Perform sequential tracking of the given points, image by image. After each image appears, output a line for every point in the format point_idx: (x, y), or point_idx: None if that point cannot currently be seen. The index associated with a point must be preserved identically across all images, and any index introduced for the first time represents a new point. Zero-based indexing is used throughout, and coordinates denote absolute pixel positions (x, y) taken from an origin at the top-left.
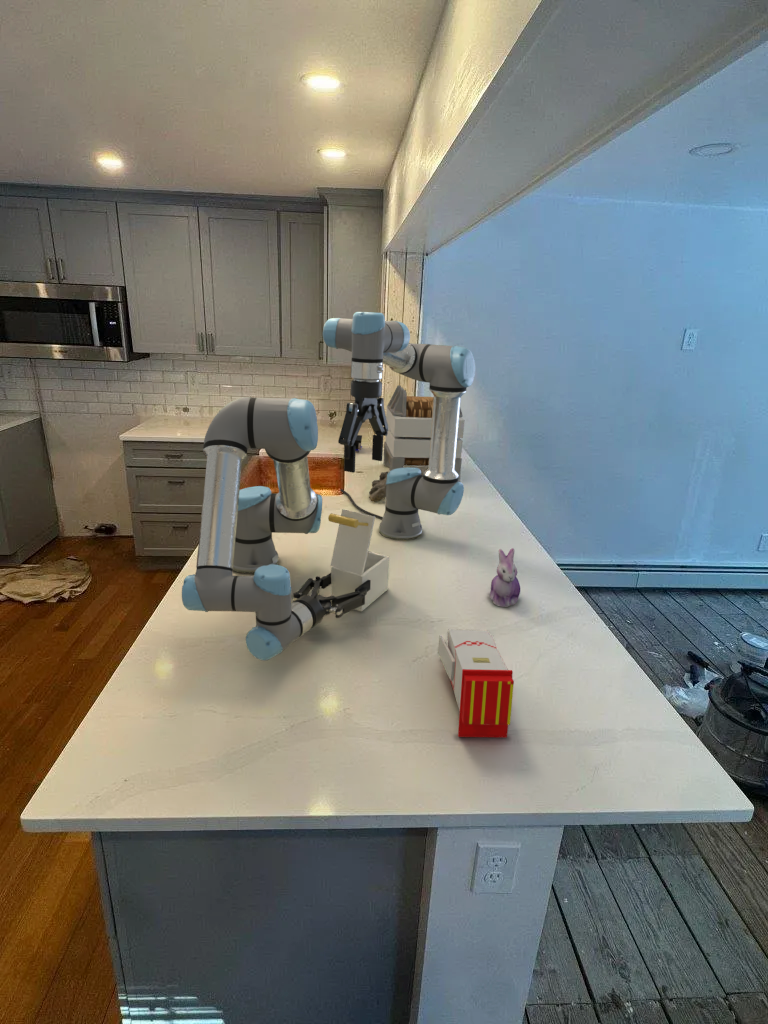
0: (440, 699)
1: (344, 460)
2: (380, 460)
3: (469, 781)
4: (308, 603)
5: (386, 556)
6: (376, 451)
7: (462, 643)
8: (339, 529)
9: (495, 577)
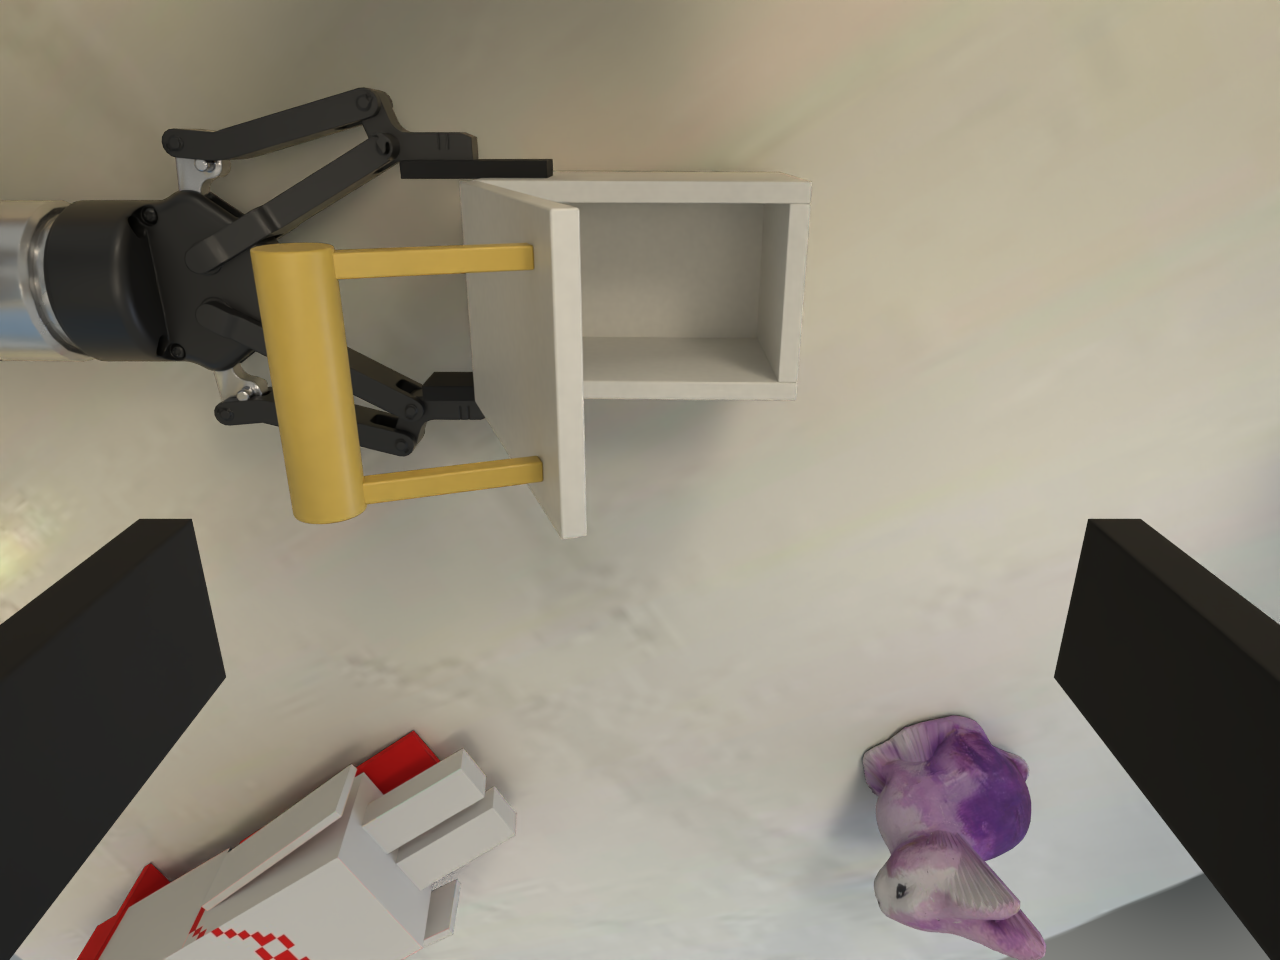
0: (243, 785)
1: (21, 619)
2: (1062, 676)
3: (50, 917)
4: (67, 328)
5: (786, 387)
6: (1162, 694)
7: (259, 935)
8: (507, 211)
9: (973, 781)
